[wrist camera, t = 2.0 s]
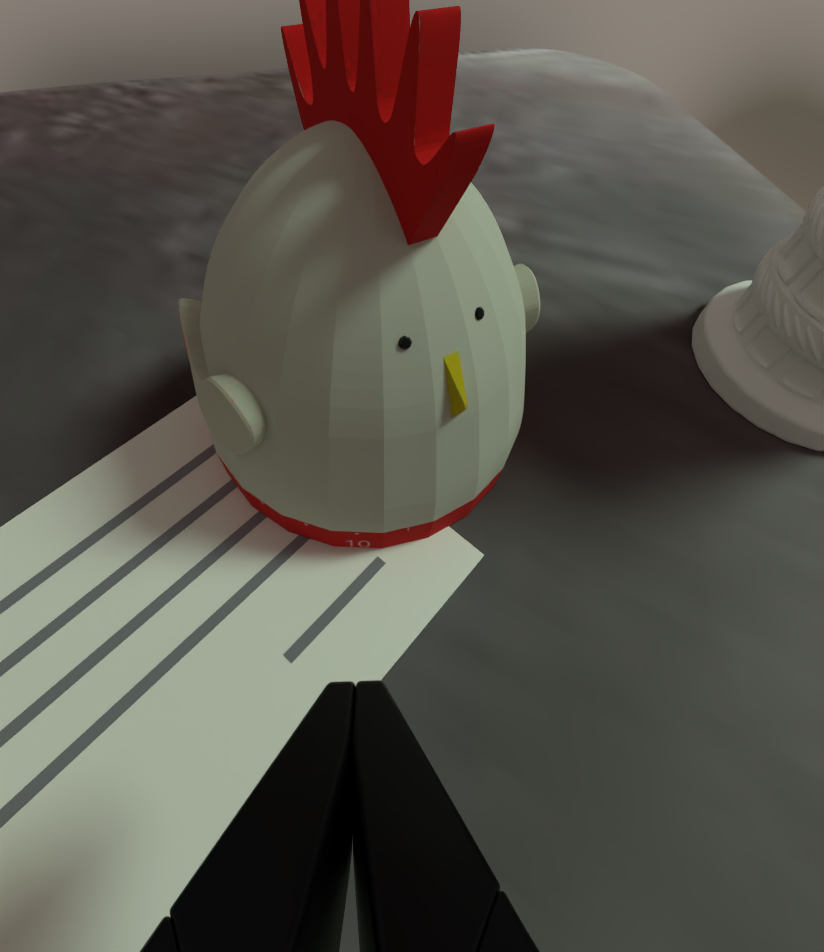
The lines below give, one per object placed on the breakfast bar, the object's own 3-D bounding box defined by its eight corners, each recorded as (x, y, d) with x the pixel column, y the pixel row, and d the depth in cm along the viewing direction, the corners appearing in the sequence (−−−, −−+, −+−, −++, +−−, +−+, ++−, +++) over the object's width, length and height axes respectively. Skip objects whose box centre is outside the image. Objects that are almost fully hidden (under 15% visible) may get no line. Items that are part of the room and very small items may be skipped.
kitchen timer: (296, 612, 17) (61, 235, 4) (174, 366, 22) (-99, -145, 9) (568, 458, 22) (872, 41, 9) (414, 283, 27) (456, -142, 14)
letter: (30, 1103, 11) (27, 1107, 11) (-208, 669, 15) (-212, 669, 15) (483, 555, 19) (484, 554, 19) (246, 363, 23) (246, 361, 23)
